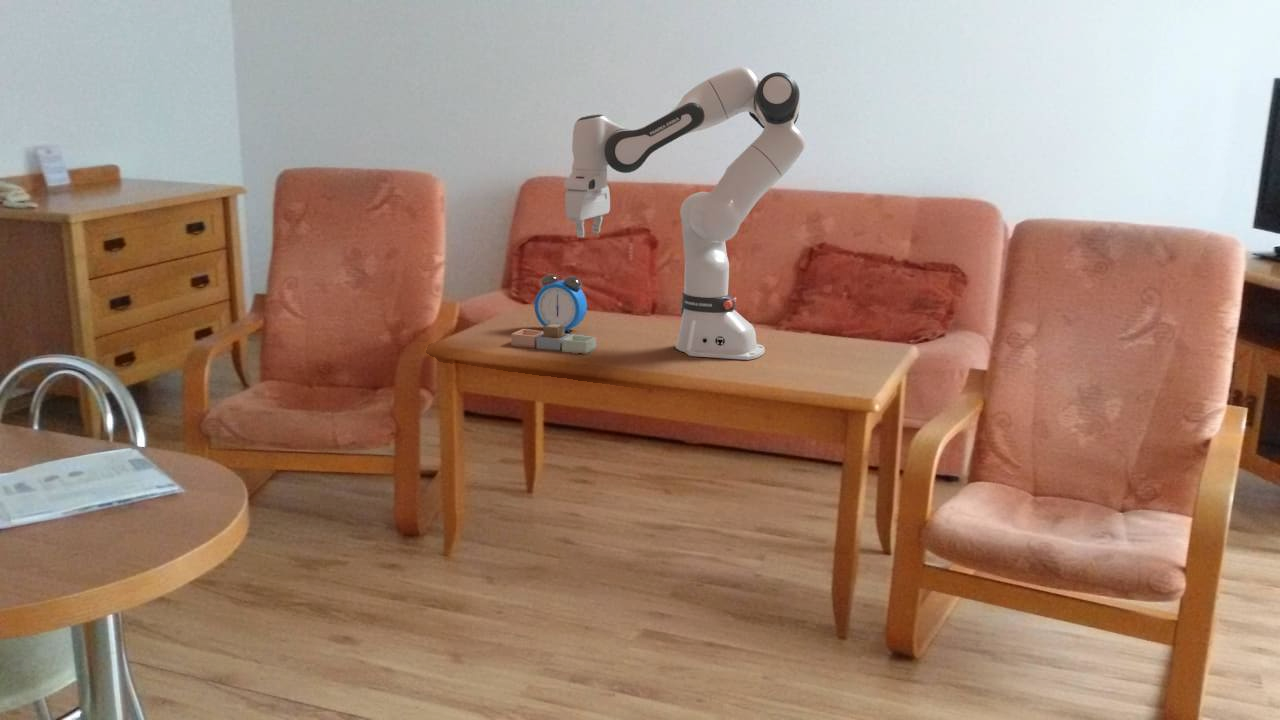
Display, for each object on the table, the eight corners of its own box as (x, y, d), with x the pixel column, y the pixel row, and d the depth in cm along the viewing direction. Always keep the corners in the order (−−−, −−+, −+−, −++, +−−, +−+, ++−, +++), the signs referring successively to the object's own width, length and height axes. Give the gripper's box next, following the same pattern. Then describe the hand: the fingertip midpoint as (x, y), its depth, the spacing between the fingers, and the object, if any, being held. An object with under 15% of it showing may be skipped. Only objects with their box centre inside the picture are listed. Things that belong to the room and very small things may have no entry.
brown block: (550, 342, 286) (550, 323, 285) (564, 344, 285) (564, 324, 283) (543, 346, 282) (543, 326, 281) (557, 347, 281) (557, 328, 280)
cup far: (545, 342, 288) (545, 331, 287) (534, 348, 282) (534, 336, 281) (523, 340, 290) (523, 328, 289) (511, 345, 284) (511, 333, 284)
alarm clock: (533, 330, 301) (533, 275, 298) (543, 325, 307) (543, 271, 303) (578, 335, 297) (579, 279, 294) (587, 330, 303) (588, 275, 299)
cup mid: (570, 345, 285) (570, 334, 285) (559, 351, 280) (559, 339, 279) (547, 343, 288) (547, 331, 287) (536, 348, 282) (536, 336, 281)
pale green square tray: (595, 348, 283) (596, 337, 282) (585, 354, 277) (585, 342, 277) (572, 346, 285) (572, 334, 285) (561, 351, 279) (562, 339, 279)
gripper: (594, 176, 295) (593, 229, 298) (561, 182, 276) (560, 238, 280) (616, 178, 292) (615, 231, 296) (584, 184, 274) (583, 240, 277)
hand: (588, 235), depth 288 cm, fingers open, 8 cm apart
